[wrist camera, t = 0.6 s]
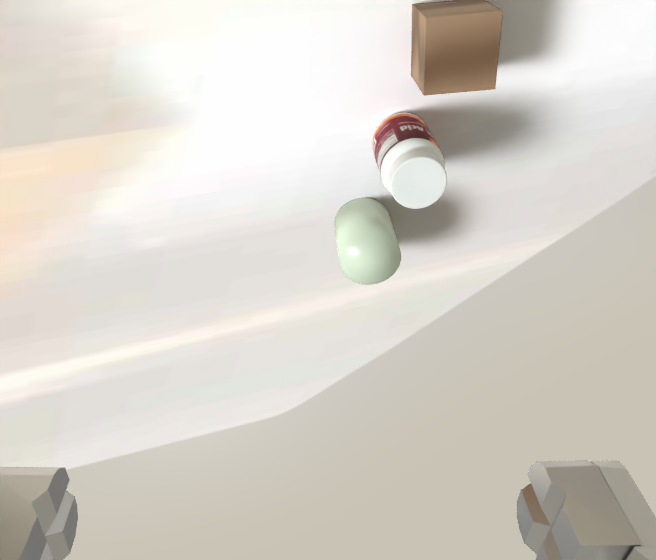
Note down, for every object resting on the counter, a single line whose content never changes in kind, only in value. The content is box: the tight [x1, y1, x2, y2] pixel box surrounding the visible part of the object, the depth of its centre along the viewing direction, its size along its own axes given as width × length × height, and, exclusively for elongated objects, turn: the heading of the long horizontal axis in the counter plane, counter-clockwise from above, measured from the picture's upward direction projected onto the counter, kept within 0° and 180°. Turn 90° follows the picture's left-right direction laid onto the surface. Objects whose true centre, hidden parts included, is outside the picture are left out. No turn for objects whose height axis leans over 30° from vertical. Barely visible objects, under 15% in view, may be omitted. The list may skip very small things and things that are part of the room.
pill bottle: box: [372, 112, 447, 209], centre depth 43 cm, size 5×5×8 cm
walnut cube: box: [411, 0, 503, 95], centre depth 40 cm, size 5×5×5 cm
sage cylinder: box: [334, 198, 401, 285], centre depth 48 cm, size 5×5×6 cm
